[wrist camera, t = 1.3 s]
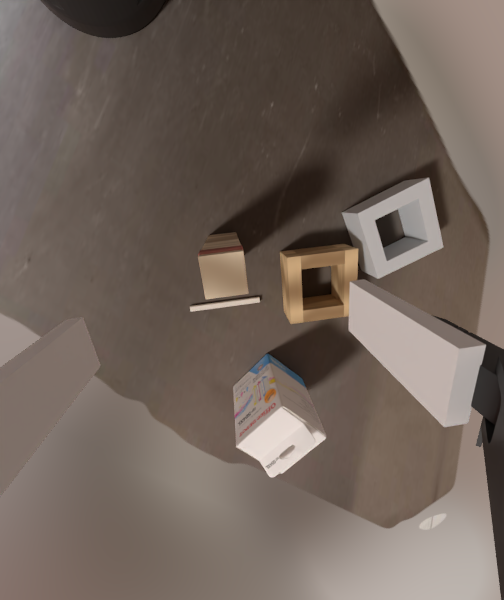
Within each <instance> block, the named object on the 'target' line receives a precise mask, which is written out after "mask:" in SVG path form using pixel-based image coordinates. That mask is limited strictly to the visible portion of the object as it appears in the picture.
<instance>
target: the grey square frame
mask: <svg viewBox="0 0 504 600" xmlns="http://www.w3.org/2000/svg"><path fill="white" fill-rule="evenodd" d="M397 209H398V211H399V215H400V218H401V222H402V226H403V230H404V234H405V237H404V238H402V239H400V240H398V241H396V242H394V243H392V244H390V245H388V246H386V247H384V248H383V247H382V243H381V240H380V236H379V233H378V230H377V226H376V223H375V220H377V219H379V218H381V217H383V216H385V215H387V214H389V213H391V212H393V211H395V210H397ZM342 215H343V218H344V221H345V224H346V227H347V230H348V232H349V235H350V238H351V241H352V244H353V247H355V248H358V262H359V265H360V268H361V271H363V272H365V273H367V274H369V275H371V276H373V277H375V278H377V279H379V278H381V277H383V276H385V275H387V274H389V273H391V272H393V271H395V270H397V269H400V268H402V267H404V266H406V265H408V264H410V263H412V262H414V261H416V260H418V259H420V258H422V257H424V256H426V255H428V254H430V253H433V252H435V251H437V250H439V249H441V248H443V243H442V238H441V233H440V228H439V223H438V219H437V214H436V209H435V204H434V199H433V194H432V189H431V185H430V180H429V178H421V179H413V180H405V181H403V182H401V183H399V184H397V185H395V186H393V187H391V188H389V189H387V190H385V191H383V192H381V193H379V194H377V195H375V196H373V197H371V198H369V199H367V200H365V201H363V202H361V203H359V204H357V205H355V206H353V207H351V208H350V209H348V210H346V211H344V212H342Z"/></svg>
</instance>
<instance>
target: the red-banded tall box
mask: <svg viewBox="0 0 504 600" xmlns="http://www.w3.org/2000/svg"><path fill="white" fill-rule="evenodd" d="M198 259H199V265H200V271H201V276H202V282H203V287H204V293H205V298H206V299H212V298H220V297H227V296H235V295H242V294H248V285H247V276H246V268H245V259H244V251H243V247H242V245H241V244H240V241H239V239H238V236H237V234H236V232H232V233H224V234H215V235H209V236H208V238H207V240H206V242H205V244H204V246H203V248H202V250H200V252H199V254H198Z"/></svg>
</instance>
